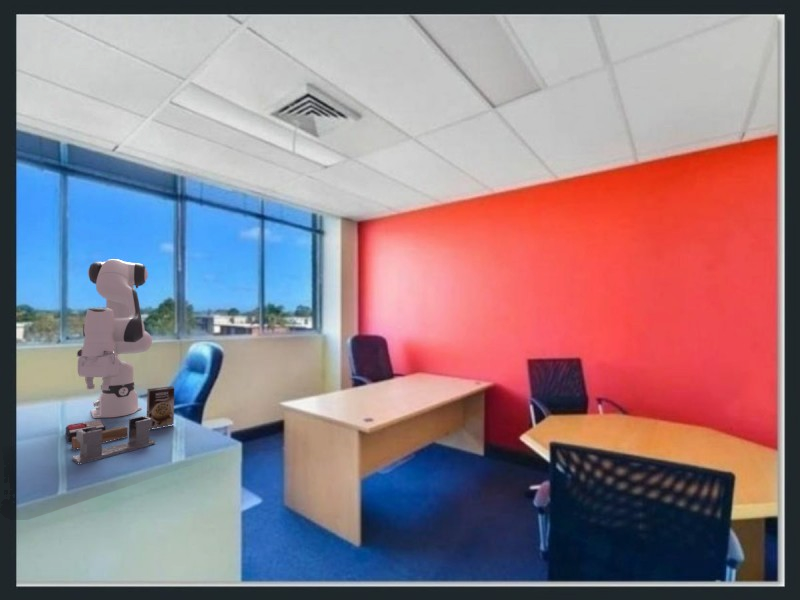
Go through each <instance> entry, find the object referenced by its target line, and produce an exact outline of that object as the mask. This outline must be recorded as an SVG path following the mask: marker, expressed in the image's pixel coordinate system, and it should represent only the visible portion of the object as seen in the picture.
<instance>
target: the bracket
mask: <svg viewBox="0 0 800 600" xmlns="http://www.w3.org/2000/svg"><path fill="white" fill-rule="evenodd" d="M151 428H152V418H149V417H147V415H142V416H138V417H132V418H129V419H128V442H124V443H120V444H116V445H112V446H108V447H104V448H103V443H102V429H99V430H96V426H93V427H88V428H84V429H79V430H77V441H78V442H80V449H79V454H76V455H73V456H71V457H72V458H71V460H72V459H73V460H72V461H74V460H75V461H76V462H77V463H79V464H78V465H81V464H80V463H83V464H85V463H84V462H87V463H89V462H88V461H91V460H94V461H96V460H95V459H98V460H100V459H99V458H102V459H105V458H109V457H112V455H113V456H116V455H120V454H123V452H124V453H127V452H126V451H128V452H131V451H134V449H135V450H139V449H141V448H146V447H148V445H150V446H152V445H151V444H154V445H156V441H155V440H154V439H152V438H150V430H149V429H151ZM145 446H146V447H145ZM138 448H139V449H138ZM130 450H131V451H130ZM119 453H120V454H119ZM108 456H109V457H108ZM104 457H105V458H104ZM75 461H74V462H75ZM76 462H75V463H76ZM91 462H92V461H91ZM77 463H76V464H77Z"/></svg>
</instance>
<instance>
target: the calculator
mask: <svg viewBox="0 0 800 600" xmlns="http://www.w3.org/2000/svg"><path fill="white" fill-rule="evenodd" d="M93 426H96V430H99V429H102V431H104V430H107V427H106V426H105V425H104V423H103V422H102V421H101V419H97V420H92V421H85V422H79V423H73V424H68V425H67V426H66V427H65V434H66V438H67V442H70V443H72V437H77V430H79V429H84V428H88V427H93Z"/></svg>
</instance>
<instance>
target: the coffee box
mask: <svg viewBox="0 0 800 600" xmlns="http://www.w3.org/2000/svg"><path fill="white" fill-rule="evenodd" d="M146 390H147V392H146V393H147V397H146V416H147V417H149V418H152V428H157V427H163V426H168V425H172V424H175V423H174V420H175V414H174V413H175V388H174V387H173V386H161V387H154V388H153V387H151V388H147V389H146ZM152 428H151V429H152Z"/></svg>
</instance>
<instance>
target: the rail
mask: <svg viewBox="0 0 800 600" xmlns="http://www.w3.org/2000/svg"><path fill="white" fill-rule="evenodd" d="M128 435H129V426H125V425H123V426H119V427H115V428H110V429H106V430H104V431H102V444H104V443H103V442H105V443H107V442H106V441H109V442H111V441H110V440H114V439H118V438H122V437H126V436H127V437H128ZM127 437H126V438H127ZM122 439H123V438H122ZM118 440H119V439H118ZM114 441H115V440H114ZM72 448H73V449H72ZM77 448H80V442H78V441H77V437H72V442H71V449H72V450H74V449H76V450H78V449H77Z"/></svg>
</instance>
